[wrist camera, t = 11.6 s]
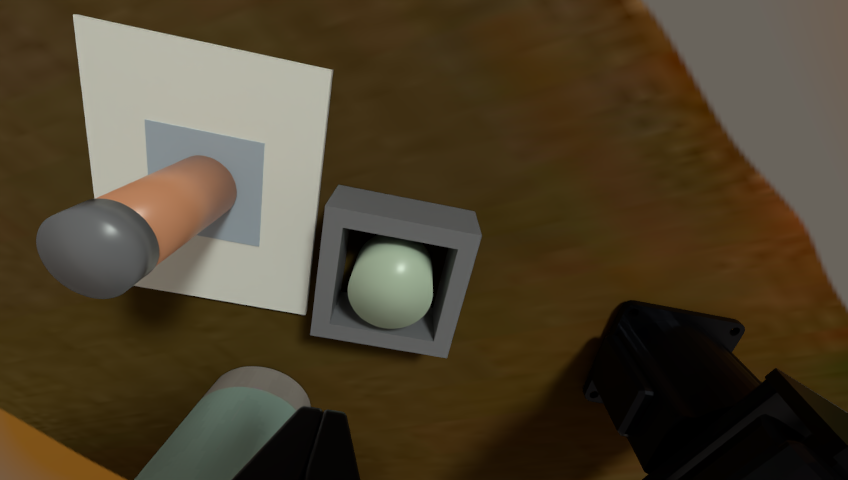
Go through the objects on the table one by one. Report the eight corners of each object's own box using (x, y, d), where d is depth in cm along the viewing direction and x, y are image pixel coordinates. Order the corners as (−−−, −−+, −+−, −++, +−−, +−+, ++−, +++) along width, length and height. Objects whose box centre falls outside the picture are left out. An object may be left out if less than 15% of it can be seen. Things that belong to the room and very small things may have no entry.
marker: (234, 157, 19) (124, 217, 12) (240, 219, 20) (143, 303, 13) (168, 150, 19) (23, 207, 12) (178, 213, 20) (52, 294, 13)
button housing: (474, 211, 20) (481, 235, 17) (444, 323, 23) (447, 358, 20) (338, 184, 20) (325, 205, 17) (323, 301, 22) (310, 335, 20)
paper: (333, 70, 18) (331, 70, 17) (306, 312, 22) (305, 315, 22) (78, 15, 17) (71, 14, 16) (108, 277, 22) (103, 281, 21)
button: (439, 240, 20) (441, 264, 18) (424, 305, 21) (423, 335, 19) (362, 225, 19) (353, 248, 17) (351, 292, 21) (342, 321, 19)
